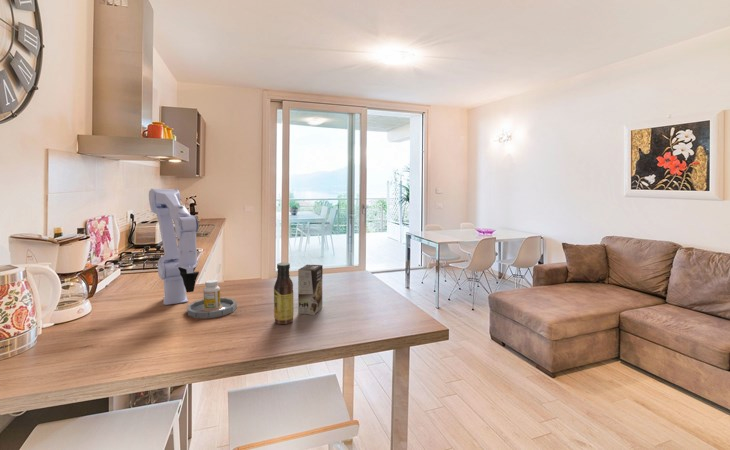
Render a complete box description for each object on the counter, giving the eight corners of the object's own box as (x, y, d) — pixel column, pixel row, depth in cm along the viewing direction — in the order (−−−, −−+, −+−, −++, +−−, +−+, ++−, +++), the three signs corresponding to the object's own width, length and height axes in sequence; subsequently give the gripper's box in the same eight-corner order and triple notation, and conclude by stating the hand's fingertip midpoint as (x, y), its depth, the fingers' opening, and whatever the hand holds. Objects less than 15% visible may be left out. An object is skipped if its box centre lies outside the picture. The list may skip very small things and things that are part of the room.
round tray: (185, 306, 127) (185, 301, 127) (231, 300, 135) (231, 295, 135) (189, 321, 113) (189, 315, 113) (240, 313, 122) (239, 307, 121)
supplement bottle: (214, 303, 128) (213, 278, 127) (223, 306, 125) (222, 280, 124) (200, 308, 123) (200, 281, 122) (209, 311, 121) (209, 284, 119)
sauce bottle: (276, 318, 117) (275, 261, 115) (294, 318, 118) (294, 261, 116) (272, 325, 111) (271, 265, 109) (292, 325, 112) (291, 265, 109)
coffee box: (314, 315, 121) (314, 270, 119) (297, 313, 122) (297, 269, 120) (323, 306, 130) (323, 264, 128) (307, 305, 131) (306, 263, 129)
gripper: (173, 248, 124) (174, 285, 125) (175, 255, 111) (177, 296, 113) (194, 246, 127) (196, 282, 129) (199, 253, 115) (201, 293, 117)
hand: (188, 288), depth 121 cm, fingers open, 7 cm apart
